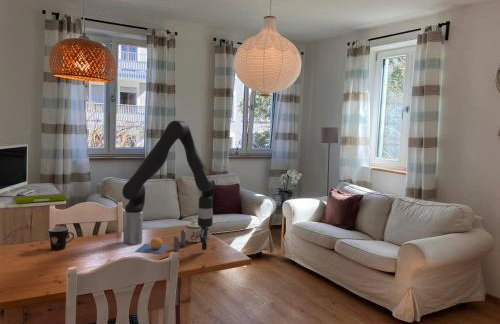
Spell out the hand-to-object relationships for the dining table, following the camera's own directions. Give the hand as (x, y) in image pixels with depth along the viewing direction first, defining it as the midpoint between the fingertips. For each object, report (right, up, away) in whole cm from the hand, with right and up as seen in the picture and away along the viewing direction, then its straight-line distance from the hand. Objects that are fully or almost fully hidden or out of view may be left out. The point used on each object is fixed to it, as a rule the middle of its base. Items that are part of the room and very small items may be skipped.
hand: (204, 249), depth 205 cm
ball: (-25, +3, +2) cm, 25 cm away
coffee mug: (-72, +1, -4) cm, 72 cm away
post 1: (-14, -1, -5) cm, 15 cm away
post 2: (-12, 0, +8) cm, 15 cm away
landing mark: (-27, 0, +3) cm, 27 cm away
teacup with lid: (-7, 0, +21) cm, 22 cm away
